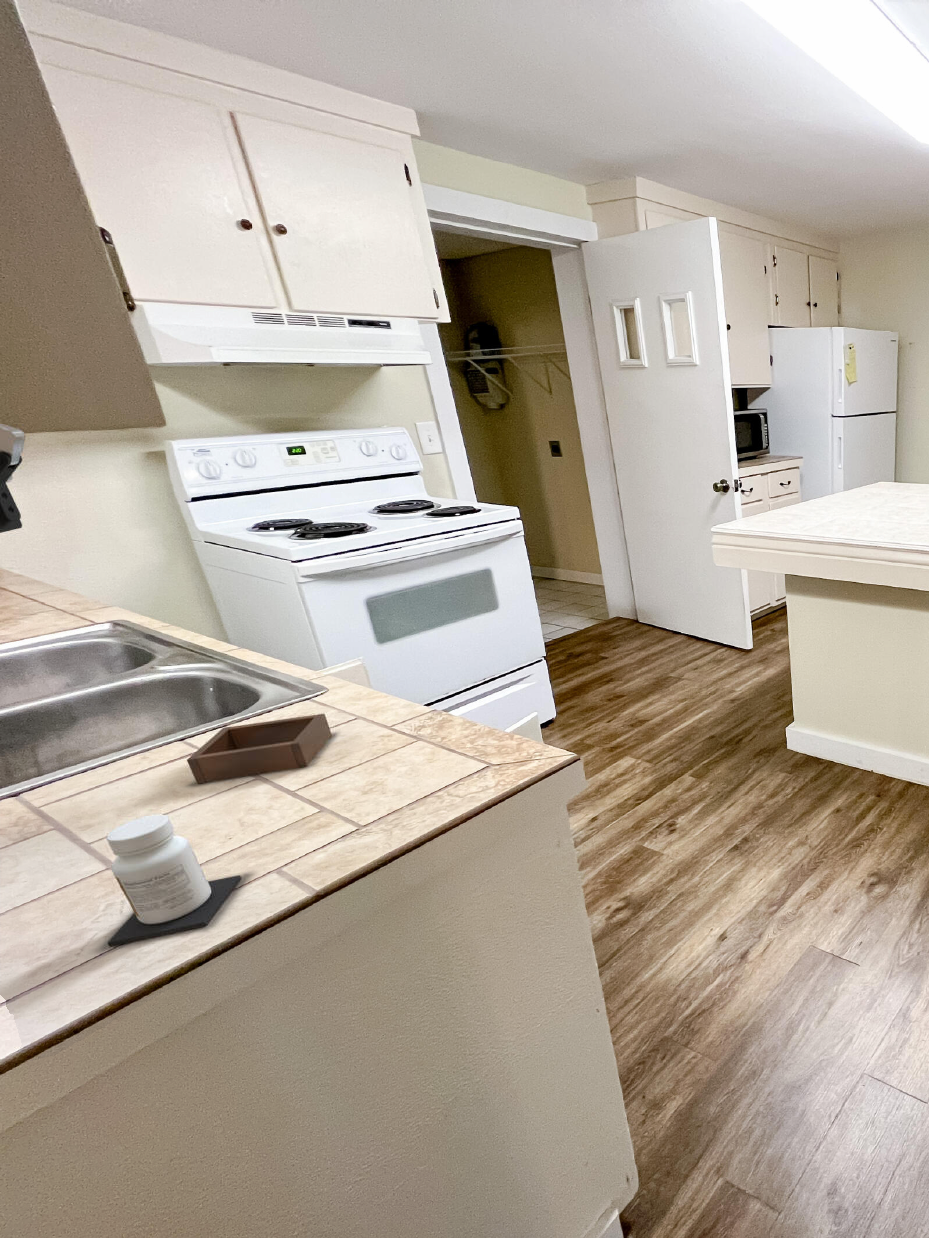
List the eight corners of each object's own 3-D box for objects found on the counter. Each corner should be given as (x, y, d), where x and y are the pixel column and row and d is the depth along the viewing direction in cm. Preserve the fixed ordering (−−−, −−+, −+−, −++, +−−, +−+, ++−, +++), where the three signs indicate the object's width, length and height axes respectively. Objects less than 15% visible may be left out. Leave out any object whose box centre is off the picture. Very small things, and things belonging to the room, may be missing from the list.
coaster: (109, 946, 52) (106, 942, 52) (154, 895, 58) (152, 892, 57) (206, 926, 54) (204, 922, 54) (241, 878, 59) (240, 874, 59)
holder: (197, 784, 74) (186, 759, 73) (232, 749, 81) (223, 727, 80) (307, 766, 77) (298, 742, 76) (332, 735, 84) (324, 713, 83)
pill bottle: (160, 894, 57) (121, 816, 54) (223, 883, 58) (189, 806, 55) (124, 931, 53) (80, 849, 50) (193, 918, 54) (154, 837, 51)
